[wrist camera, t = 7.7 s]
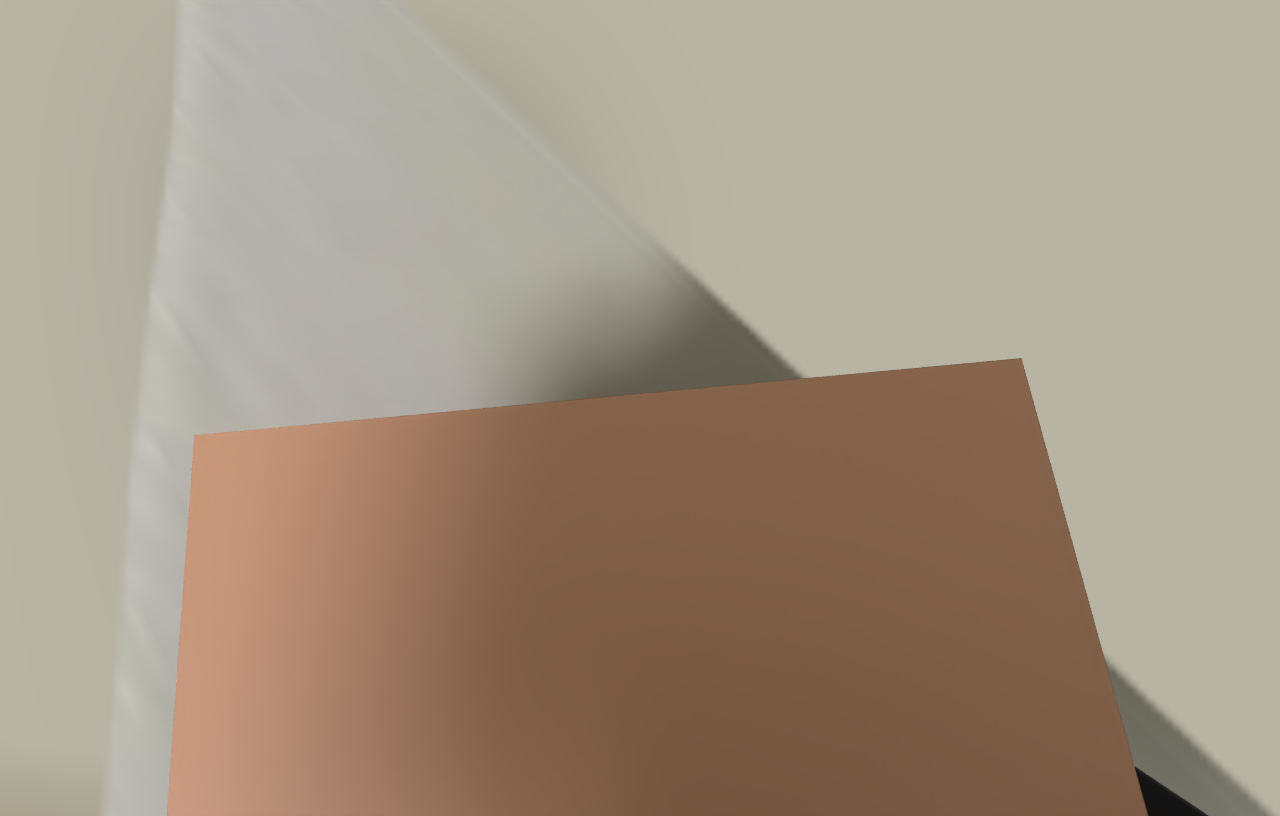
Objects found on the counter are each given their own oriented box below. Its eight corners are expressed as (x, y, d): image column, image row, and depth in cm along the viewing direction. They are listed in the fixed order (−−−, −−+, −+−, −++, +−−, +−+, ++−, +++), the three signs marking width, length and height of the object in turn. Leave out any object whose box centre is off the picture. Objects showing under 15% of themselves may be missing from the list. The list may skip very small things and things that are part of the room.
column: (733, 697, 14) (1324, 1449, 2) (534, 723, 14) (98, 1767, 2) (706, 498, 15) (1022, 357, 4) (522, 518, 15) (194, 434, 3)
